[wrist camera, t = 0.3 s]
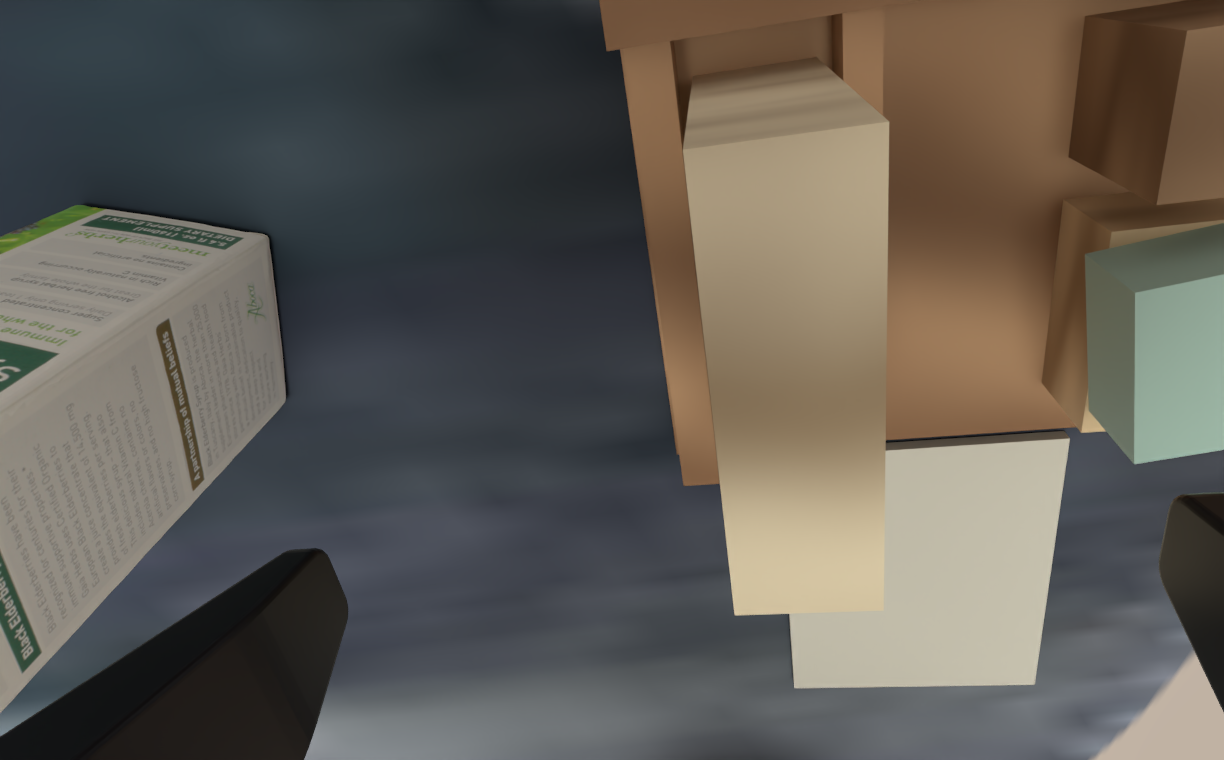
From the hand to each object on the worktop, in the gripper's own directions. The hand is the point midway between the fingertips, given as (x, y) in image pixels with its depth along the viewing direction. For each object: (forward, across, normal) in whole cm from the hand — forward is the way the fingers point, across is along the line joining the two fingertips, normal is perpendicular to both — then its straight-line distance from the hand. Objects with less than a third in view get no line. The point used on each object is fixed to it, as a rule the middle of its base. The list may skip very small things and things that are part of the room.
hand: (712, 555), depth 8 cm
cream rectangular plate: (+13, -5, +12) cm, 19 cm away
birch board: (+13, -1, +1) cm, 13 cm away
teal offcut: (+10, -10, +3) cm, 14 cm away
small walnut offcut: (+13, -10, -2) cm, 16 cm away
